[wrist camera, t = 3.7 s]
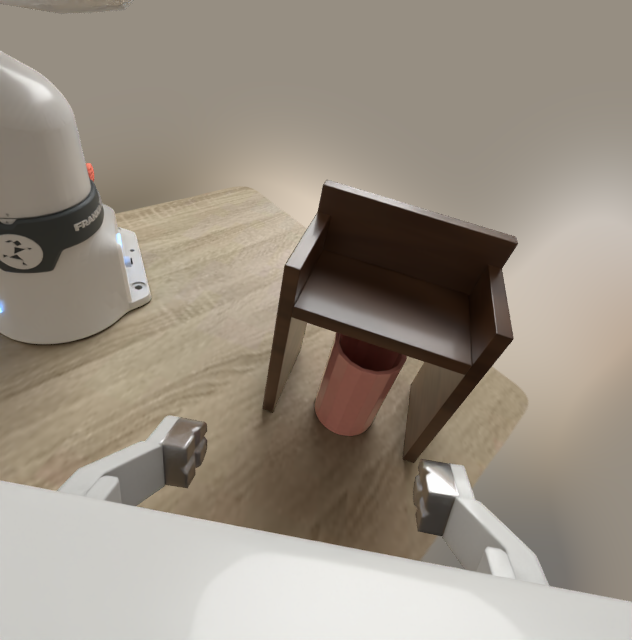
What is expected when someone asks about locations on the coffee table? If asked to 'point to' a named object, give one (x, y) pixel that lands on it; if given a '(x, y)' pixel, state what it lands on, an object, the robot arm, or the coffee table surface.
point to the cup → (355, 384)
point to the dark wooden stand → (398, 297)
